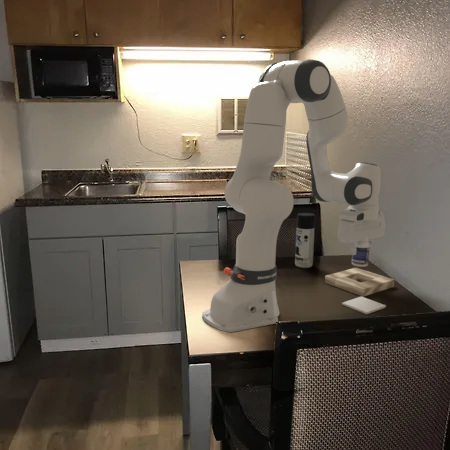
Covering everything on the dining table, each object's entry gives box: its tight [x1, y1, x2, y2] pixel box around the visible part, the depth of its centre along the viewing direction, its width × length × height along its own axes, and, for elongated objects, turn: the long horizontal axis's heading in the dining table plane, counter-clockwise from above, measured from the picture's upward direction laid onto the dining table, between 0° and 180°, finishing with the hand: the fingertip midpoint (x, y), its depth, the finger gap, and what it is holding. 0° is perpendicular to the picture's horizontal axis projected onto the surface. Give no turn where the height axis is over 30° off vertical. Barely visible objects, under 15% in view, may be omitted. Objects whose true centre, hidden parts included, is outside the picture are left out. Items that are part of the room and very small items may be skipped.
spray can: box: [294, 212, 316, 269], centre depth 178 cm, size 7×7×20 cm
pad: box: [341, 296, 387, 315], centre depth 141 cm, size 9×9×1 cm
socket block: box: [324, 267, 395, 298], centre depth 159 cm, size 16×16×2 cm
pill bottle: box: [351, 237, 370, 268], centre depth 157 cm, size 5×5×10 cm
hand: (360, 253), depth 157 cm, fingers closed on pill bottle, 5 cm apart
